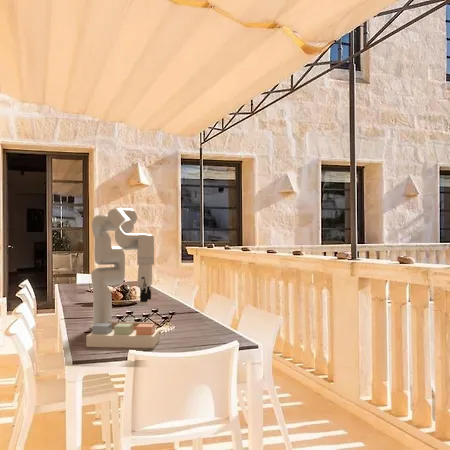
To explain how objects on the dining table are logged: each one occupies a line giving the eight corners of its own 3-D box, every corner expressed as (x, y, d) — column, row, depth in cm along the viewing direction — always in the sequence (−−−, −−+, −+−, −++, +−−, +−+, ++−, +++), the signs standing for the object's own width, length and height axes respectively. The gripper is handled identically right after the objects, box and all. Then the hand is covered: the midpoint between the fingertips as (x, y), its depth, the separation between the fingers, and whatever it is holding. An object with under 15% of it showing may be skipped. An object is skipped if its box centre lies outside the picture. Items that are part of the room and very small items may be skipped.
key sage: (114, 335, 228) (114, 326, 228) (118, 332, 235) (118, 323, 235) (129, 335, 227) (129, 326, 227) (133, 332, 234) (133, 323, 234)
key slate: (92, 334, 228) (92, 326, 228) (97, 331, 235) (97, 323, 235) (107, 335, 228) (107, 326, 228) (112, 331, 235) (112, 323, 235)
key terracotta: (136, 335, 227) (136, 326, 227) (139, 332, 234) (139, 323, 234) (151, 335, 227) (151, 326, 227) (154, 332, 234) (154, 323, 234)
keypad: (86, 346, 225) (86, 328, 225) (98, 338, 241) (98, 321, 241) (153, 347, 223) (153, 329, 223) (160, 339, 240) (160, 322, 240)
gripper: (141, 260, 239) (141, 297, 239) (132, 262, 222) (132, 303, 222) (157, 260, 239) (157, 298, 239) (149, 262, 221) (149, 303, 221)
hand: (145, 300), depth 230 cm, fingers open, 6 cm apart
